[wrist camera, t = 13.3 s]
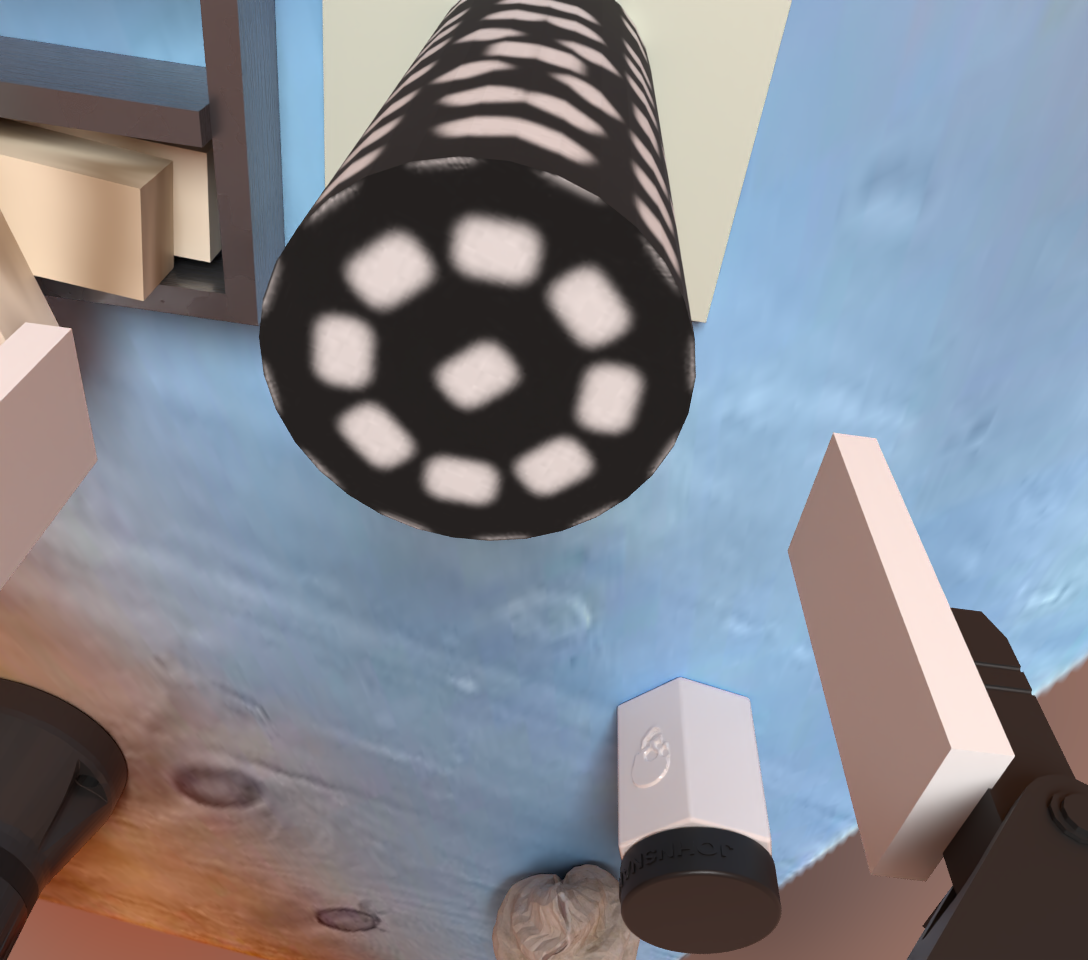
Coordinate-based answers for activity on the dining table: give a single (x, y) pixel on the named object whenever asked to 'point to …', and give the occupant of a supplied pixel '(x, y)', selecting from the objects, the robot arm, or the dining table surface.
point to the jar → (693, 821)
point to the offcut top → (18, 289)
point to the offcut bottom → (176, 188)
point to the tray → (182, 118)
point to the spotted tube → (492, 283)
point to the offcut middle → (87, 209)
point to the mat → (679, 83)
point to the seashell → (564, 919)
